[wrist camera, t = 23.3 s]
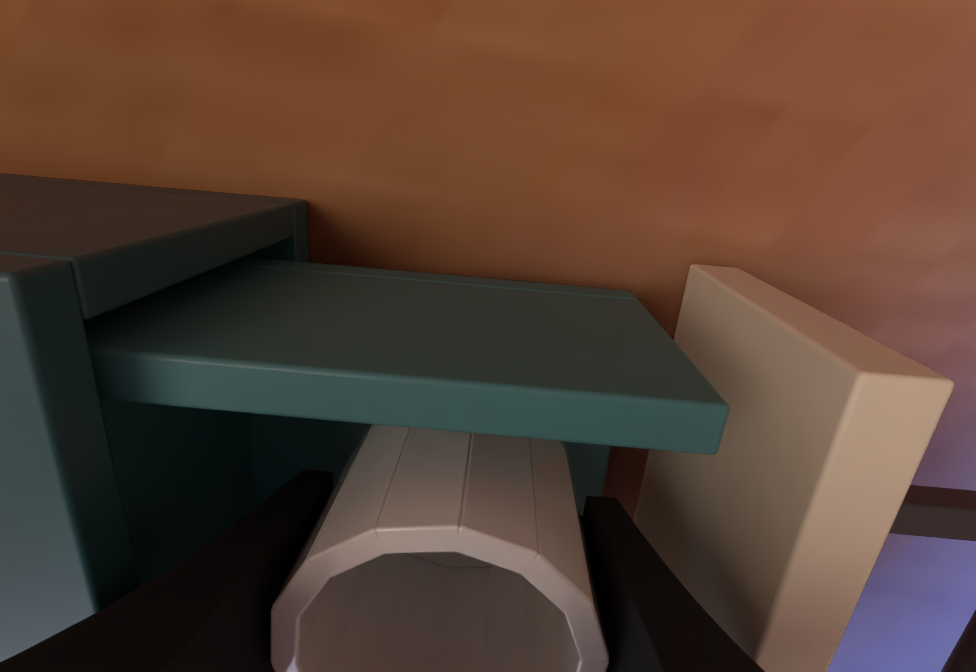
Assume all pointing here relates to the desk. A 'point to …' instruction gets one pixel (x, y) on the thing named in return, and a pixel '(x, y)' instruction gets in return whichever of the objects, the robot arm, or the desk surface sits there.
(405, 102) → the desk surface
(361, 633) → the cup
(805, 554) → the drawer
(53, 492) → the cabinet
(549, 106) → the desk surface
